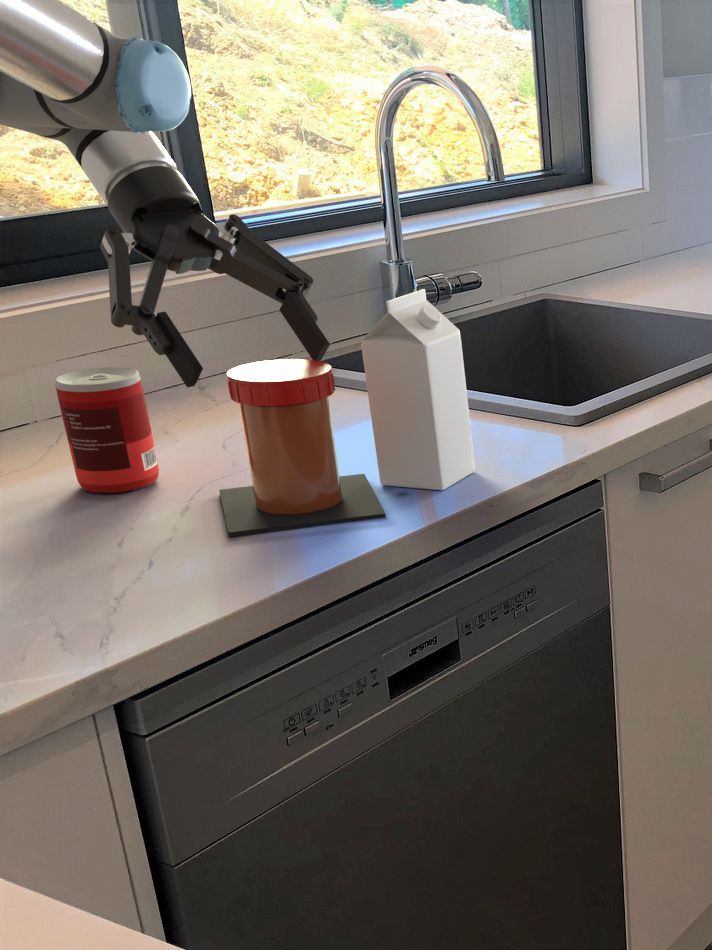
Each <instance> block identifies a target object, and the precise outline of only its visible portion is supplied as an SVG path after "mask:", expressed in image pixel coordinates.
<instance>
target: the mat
mask: <svg viewBox="0 0 712 950" xmlns="http://www.w3.org/2000/svg"><path fill="white" fill-rule="evenodd" d="M340 483H341V490H342V497H343V498H342V500H341V501H340V502H339V503H338V504H336V505H334V506H332V507H330V508H327V509H323V510H320V511H315V512H309V513H301V514H273V513H267V512H264V511H261V510H259V509H258V508H257V507H256V504H255V498H254V492H253V486H252V485H248V486H240V487H230V488H221V489H219V490H218V491H219V496H220V502H221V506H222V510H223V516H224V521H225V525H226V526H225V527H226V530H227V537H228V538H236V537H237V538H238V537H245V536H254V535H262V534H269V533H277V532H285V531H292V530H293V531H295V530H301V529H308V528H315V527H316V528H317V527H324V526H332V525H338V524H339V525H340V524H346V523H353V522H355V523H356V522H362V521H368V520H377V519H385V518H387V516H386V512H385V510H384V508H383V506H382V505H381V503H380V501H379V499H378V496H377V495H376V493H375V491H374V489H373V487H372V486H371V484H370V482H369V480H368V478H367V476H366V474H365V473H360V474H358V473H357V474H350V475H342V476H341V475H340Z"/></svg>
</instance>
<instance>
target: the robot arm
mask: <svg viewBox="0 0 712 950" xmlns="http://www.w3.org/2000/svg"><path fill="white" fill-rule="evenodd" d="M191 98H192V87H191V81H190V77H189V74H188V71H187V69H186V67H185V65H184V62H183V61H182V60H181V58H180V57H179V56H178V54H177V53H176V52H175V51H174V50H173V49H172V48H171V47H170V46H168V45H166V44H164V43H162V42H160V41H157V40H149V39H144V38H142V37H136V36H135V37H134V36H133V37H130V38H124V37H121V36H119V35H117V34H115V33H113V32H112V31H110V30H108V29H106V28H105V27H103V26H102V25H100V24H98V23H96V22H95V21H94V20H91V19H90V18H89V17H87V16H85V15H83V13H81V12H79V11H77V10H76V9H74V8H73V7H71V6H69V5H68V4H66V3H64V2H63V1H62V0H0V126H4V127H9V128H11V129H14V130H19V131H23V132H26V133H27V132H28V133H29V134H30V133H31V134H34V135H36V136H39V137H43V138H45V139H46V138H47V139H50V140H55V141H58V142H59V143H62V144H63V145H65V147H66V148H67V149H68V151H69V152H70V154H71V155H72V156H73V158H74V159H75V161H76V162H77V163H78V165H79V167H80V168H81V169H82V171H83V172H84V174H85V175H86V177H87V179H88V180H89V182H90V183H91V185H92V186H93V187H94V189H95V190H96V192H97V193H98V195H99V196H100V198H101V200H102V201H103V203H104V204H106V205H107V208H108V211H109V212H110V214H111V215H112V217H113V218H114V220H115V221H116V223H117V224H118V226H119V227H120V229H121V230H122V232H121V230H120V229H119V228H118V227H116V226H113V225H110V226H107V227H106V230H105V231H104V234H103V237H102V240H101V242H100V246H99V247H100V250H101V252H102V254H103V257H104V258H105V260H106V262H107V270H108V290H109V310H110V311H109V313H110V322H111V324H112V326H114V327H117V328H124V327H125V326H131V332H132V333H133V334H135V335H138V336H144V337H145V339H146V340H147V342H148V343H149V345H150V346H151V348H152V350H153V351H154V352H155V353H156V354H157V355H159V356H164V355H165V356H166V357H167V358H166V359H168V361H169V362H170V364H171V365H172V367H173V368H174V370H175V372H176V373H177V375H178V376H179V377H180V379H181V380H182V382H183V384H184V385H185V387H186V388H192V387H196V385H197V382H198V381H199V378H200V376H201V374H202V372H203V370H204V367H203V366H202V364H201V363H200V361H199V360H198V358H197V356H196V355H195V354H194V352H193V350H192V349H191V348H190V346H189V345H188V343H187V342H186V340H185V339H184V337H183V335H182V334H181V332H180V331H179V330H178V328H177V326H176V325H175V324H174V323H173V321H172V319H171V317H170V316H169V315H168V313H167V311H160V312H157V313H156V314H155V311H156V308H157V305H158V301H159V299H160V294H161V291H162V288H163V285H164V281H165V278H166V274H167V271H170V272H174V273H175V274H176V275H180V274H181V275H182V274H185V273H188V272H190V271H191V272H203V271H204V272H205V271H207V269H208V270H210V271H211V272H214V273H215V274H217V275H223V274H225V275H227V276H228V277H231V278H233V279H235V280H236V281H239V282H240V283H242V284H244V285H246V286H248V287H250V288H251V289H253V290H256V291H257V292H259V293H261V294H263V295H265V296H267V297H268V298H270V299H272V300H274V301H276V302H278V303H279V304H281V305H280V308H279V312H280V313H281V315H282V316H283V318H284V320H285V321H286V322H287V324H288V326H289V327H290V328H291V330H292V331H293V333H294V334H295V336H296V338H297V339H298V340H299V342H300V343H301V345H302V346H303V348H304V349H305V351H306V352H307V354H308V355H309V356H310V358H311V360H314V361H320V362H322V360H323V358H324V356H325V354H326V353H327V351H328V349H329V347H330V346H331V343H330V342H329V340H328V339H327V337H326V335H325V334H324V333H323V331H322V330H321V329H320V327H319V325H318V324H317V323H318V320H319V319H318V315H317V313H316V312H315V310H314V309H313V308H312V306H311V304H310V303H309V302H308V300H307V299H306V297H307V295H308V293H309V292H310V290H311V288H312V285H313V283H314V279H313V277H312V275H309V274H308V273H307V272H306V271H305V270H303V269H302V268H300V267H299V266H298V265H297V264H295V263H294V262H292V261H291V260H290V259H289V258H287V257H286V256H285V255H283V254H282V253H281V252H280V251H278V250H277V249H275V248H274V247H273V246H271V245H270V244H269V243H267V242H266V241H265V240H263V239H262V238H261V237H259V236H258V235H257V234H255V233H254V232H253V231H252V230H251V229H250V228H249V227H248V226H247V224H246V223H245V222H244V221H243V219H242V218H241V217H240V216H238V215H237V214H235V213H233V214H229V216H228V218H227V219H226V221H223V222H218V223H214V222H213V221H212V220H210V219H209V218H208V217H207V216H206V215H205V214H204V212H203V208H202V205H201V203H200V200H199V199H198V196H197V195H196V194H195V192H194V191H193V190H192V188H191V186H190V185H189V184H188V182H187V180H186V179H185V178H184V176H183V174H182V173H181V172H180V171H179V170H178V167H177V165H176V163H175V162H174V160H173V159H172V158H171V156H170V155H169V153H168V151H167V150H166V149H165V147H164V146H163V144H162V143H161V141H160V140H159V138H158V137H157V136H156V134H155V133H154V132H169V131H172V130H174V129H175V128H177V127H178V126H180V125H181V124H182V123H183V121H184V120H185V119H186V117H187V115H188V113H189V111H190V105H191ZM132 249H133V250H134V251H135V252H137V253H138V254H140V255H142V256H144V257H145V258H147V259H148V260H150V261H151V263H150V266H149V270H148V272H147V277H146V281H145V284H144V286H143V291H142V294H141V297H140V300H139V304H138V305H134V304H133V301H132V300H133V296H132V282H131V280H132V279H131V262H130V261H131V260H130V254H131V252H132ZM217 250H218V251H220V253H222V254H221V256H220V259H217V258H216V256H217ZM284 290H285V291H284Z"/></svg>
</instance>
